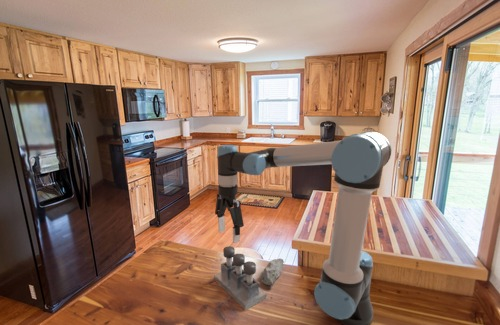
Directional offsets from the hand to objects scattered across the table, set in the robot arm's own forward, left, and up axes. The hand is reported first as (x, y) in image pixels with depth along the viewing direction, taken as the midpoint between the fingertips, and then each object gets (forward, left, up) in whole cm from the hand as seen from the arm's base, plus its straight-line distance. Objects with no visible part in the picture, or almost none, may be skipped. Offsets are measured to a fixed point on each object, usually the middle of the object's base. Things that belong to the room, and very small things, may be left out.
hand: (228, 236), depth 107 cm
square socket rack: (-7, 0, -20) cm, 21 cm away
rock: (-10, -15, -20) cm, 27 cm away
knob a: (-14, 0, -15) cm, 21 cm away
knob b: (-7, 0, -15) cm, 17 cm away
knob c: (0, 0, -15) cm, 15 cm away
